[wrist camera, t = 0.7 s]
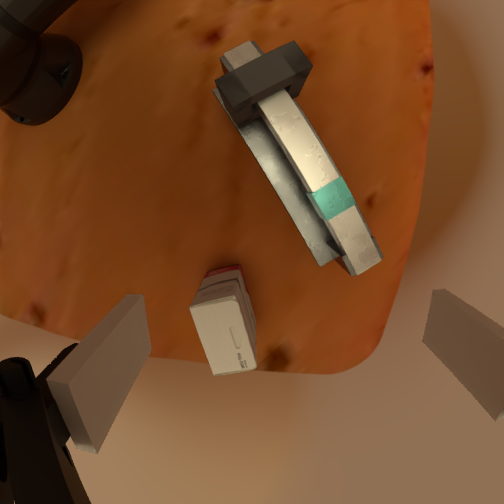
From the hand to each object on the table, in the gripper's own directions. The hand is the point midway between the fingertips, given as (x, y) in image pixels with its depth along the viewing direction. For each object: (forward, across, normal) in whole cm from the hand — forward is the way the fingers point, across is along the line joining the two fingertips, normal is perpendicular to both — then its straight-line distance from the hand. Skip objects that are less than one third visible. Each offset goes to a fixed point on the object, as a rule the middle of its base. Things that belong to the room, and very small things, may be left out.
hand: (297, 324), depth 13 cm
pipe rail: (+27, +4, +8) cm, 28 cm away
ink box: (+27, -4, -9) cm, 29 cm away
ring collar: (+24, -1, +15) cm, 29 cm away
